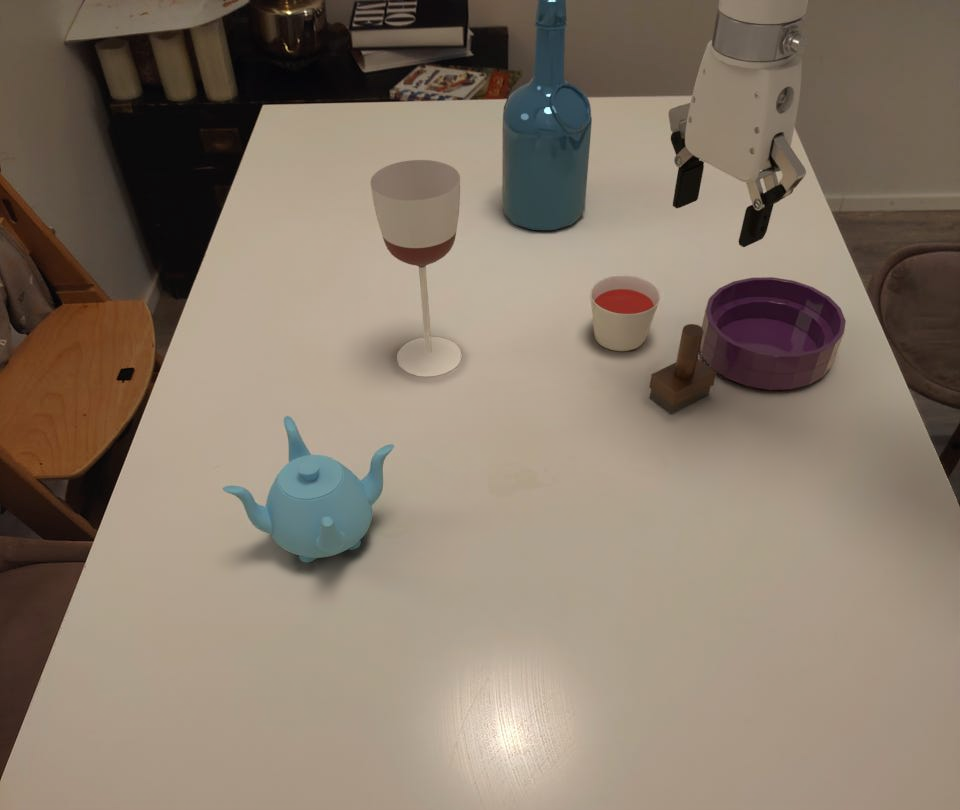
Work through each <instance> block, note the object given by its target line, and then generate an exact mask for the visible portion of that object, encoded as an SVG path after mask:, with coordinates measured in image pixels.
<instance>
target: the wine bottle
mask: <svg viewBox="0 0 960 810" xmlns="http://www.w3.org/2000/svg"><path fill="white" fill-rule="evenodd" d="M536 4H537V5H536V12H535V20H534V27H535V28H536V29H535V43H534V44H535V45H534V59H533V60H534V62H533V76H532V77H531V79H530V81H527V82H525V83H524V84H522V85H521V86H519V87H518V88H517V89H515V90H514V91H512V93H510V94H509V96H508V97H507V99H506V101H505V103H504V106H503V110H502V112H503V113H502V154H501V155H502V157H501V158H502V159H501V160H502V164H501V165H502V176H501V177H502V178H501V179H502V184H501V185H502V187H501V188H502V189H501V190H502V193H501V194H502V195H501V196H502V199H501V201H502V207H501V210H502V212H503V215H504V216H505V217H506V218H507V219H508V220H509V221H510V222H511V223H513V224H514V226H518V227H522V228H524V229H528V230H530V231H555V230H559V229H562V228H566V227H569V226H572V225H573V224H575V222H577V221H578V219H580V218H581V217H582V216H583V214H584V212H585V210H586V198H587V197H586V196H587V184H588V175H589V162H590V161H589V160H590V148H591V137H592V136H591V135H592V121H593V120H592V119H593V116H592V107H591V102H590V100H589V98H588V96H587V95H586V93H585V92H584V91H582V90H581V89H580V88H579V87H578V86H576V85H574V84H573V83H571V82H570V81H567V79H566V76H565V47H566V45H565V43H566V27H568V20H567V0H537V3H536Z"/></svg>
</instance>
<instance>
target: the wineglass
mask: <svg viewBox="0 0 960 810" xmlns="http://www.w3.org/2000/svg"><path fill="white" fill-rule="evenodd" d="M370 189H371V190H370V191H371V197H372V202H373V206H374V207H373V208H374V211H375V216H376V220H377V224H378V226H379V229H380V233H381V237H382V240H383V242H384V245H385V247H386V249H387V250H388V252H389V253H390V255H391V256H393V257H394V258H396V259H397V260H398V261H400V262H402V263H405V264H407V265H411V266H416V267H418V275H419V276H418V277H419V287H420V288H419V289H420V301H421V313H422V325H423V337H419V338H414V339H412V340H410V341H409V342H406V343H405V344H404V345H403V346H401V347H400V348H399V350H398V352H397V354H396V361H397V364H398V366H399V367H400V368H401V369H402V370H403V371H404V372H406V373H409V374H411V375H413V376H418V377H425V378H426V377H427V378H428V377H438V376H441V375H445V374H447V373H449V372H451V371H453V370H454V369H456V367H458V365H459V364H460V362H461V360H462V351H461V348H460V347H459V346H458V345H457V344H456V343H455V342H454V341H452V340H449V339H447V338H444V337H439V336H432V332H431V329H432V328H431V317H430V305H429V291H428V278H427V277H428V275H427V266H428V265H431V264H434V263H436V262H438V261H439V260H442V258H444V257H445V256H446V255H447V254H449V252H450V251H451V250H452V248H453V246H454V244H455V241H456V236H457V230H458V223H459V216H460V205H461V204H460V203H461V202H460V200H461V175H460V173H459V171H458V170H457V169H456V168H454V167H453V166H452V165H450V164H447V163H445V162H441V161H437V160H430V159H411V160H410V159H409V160H404V161H399V162H395V163H392V164H389V165H387V166H384V167H382V168H380V169H379V170H377V171H376V172H375V173H374V174H373V175H372V177H371V179H370Z"/></svg>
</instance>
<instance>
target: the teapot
mask: <svg viewBox="0 0 960 810" xmlns="http://www.w3.org/2000/svg"><path fill="white" fill-rule="evenodd" d="M283 425H284V428H285V432H286V436H287V442H288V462H287V463H286V464H285V465H284V466H283V467H282V468H281V469H280V471H279V472H278V473H277V474H276V477H275V479H274V481H273V483H272V484H271V486H270V488H269V491H268V494H267V497H266V503H265V505H262V504H259V503H257V502H256V500H255V499H254V496H253V494H252V493H251V492H250V490H249V489H247V488H246V487H243V486H240V485H226V486H223V487H222V491H223V492H225V493H227V494H231V495H233V496H235V497H236V498H238V499H239V501H240V502H241V503H242V505H243V507H244V511H245V513H246V515H247V518H248V519H249V521H250V523H251V524H252V526H253V527H255V528H256V529H257V530H259V531H261V532H263V533H266V534H269V535H270V537H271V538H272V540H273V541H274V542H275V543H276V544H277V545H278V547H281V549H283V550H285V551H287V552H289V553H291V554H293V555H296V556H298V559H299V561H301V562H302V563H311V562H314V561H315V560H317V559H319V558H320V559H321V558H328V557H333V556H336V555H338V554H339V555H340V554H341V553H343V552H346V551H347V550H349V551H353V550H356V549H358V548H359V547H360V546H361V543H362V541H361V540H362V538H363V537H364V536H365V535H366V534H367V532H368V530H369V529H370V526H371V523H372V520H373V513H374V511H373V505H374V504H375V503H376V502H377V501H378V499H379V498H380V497H381V494H382V492H383V487H384V462H385V460H386V458H387V456H389V454H390V453H391V452H392V451H393V450H394V448H395V445H394V444H393V443H390V444H385V445H384V446H382V447H380V448H379V449H377V450H376V451H375V453H374V454H373V455H372V457H371V460H370V466H369V471H368V473H367V474H366V475H365V476H364V477H363V478H362V479H359V478H358V477H357V475H356V474H355V473H354V472H353V471H351V470H350V469H349V468H348V467H347V466H345V465H344V464H342V463H341V462H340V461H338V460H336V459H334V458H332V457H330V456H328V455H324V454H311V452H310V451H309V448H308V447H307V445H306V443H305V442H304V440H303V438H302V436H301V434H300V432H299V429H298V426H297V424H296V423H295V420H294V419H293V418H292V417H291V416H290V415H285V416H284V418H283Z"/></svg>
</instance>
